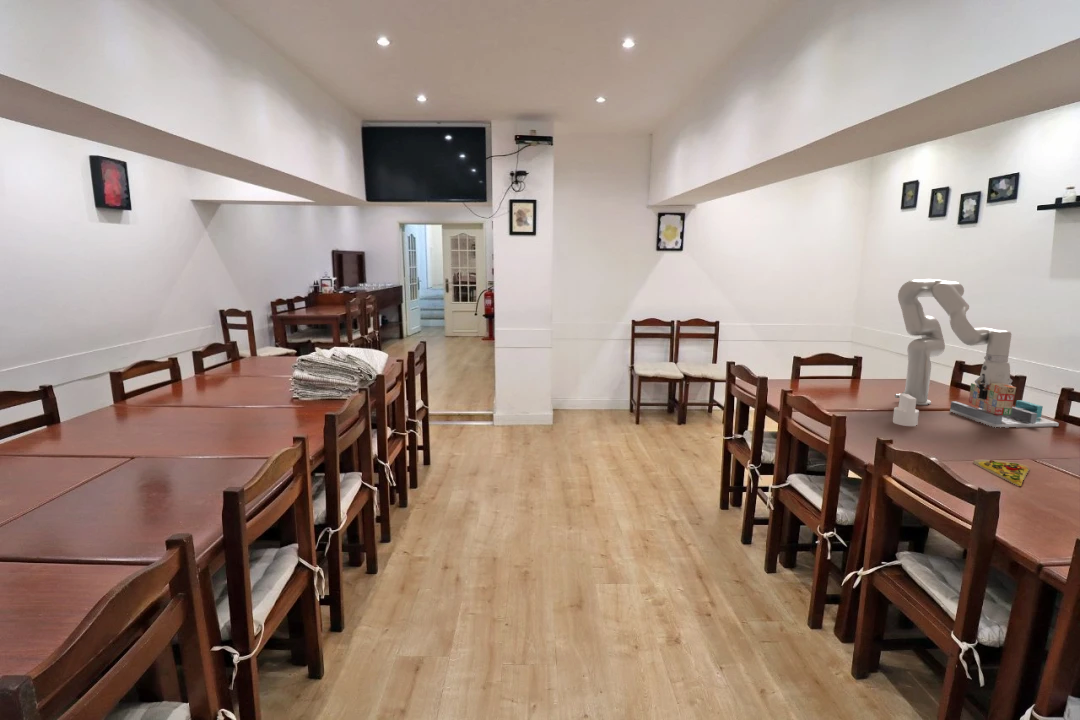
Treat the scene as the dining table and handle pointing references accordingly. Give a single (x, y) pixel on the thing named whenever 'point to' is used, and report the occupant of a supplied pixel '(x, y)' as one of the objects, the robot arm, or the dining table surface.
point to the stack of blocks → (994, 398)
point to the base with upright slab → (906, 411)
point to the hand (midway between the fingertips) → (991, 398)
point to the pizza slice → (1005, 470)
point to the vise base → (1013, 421)
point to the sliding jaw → (1026, 411)
